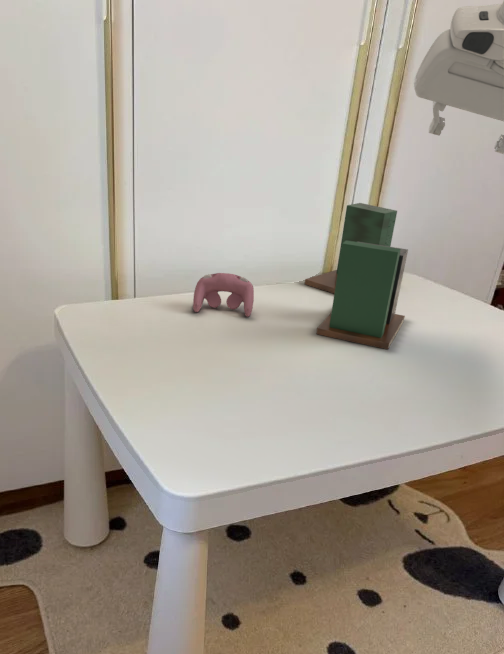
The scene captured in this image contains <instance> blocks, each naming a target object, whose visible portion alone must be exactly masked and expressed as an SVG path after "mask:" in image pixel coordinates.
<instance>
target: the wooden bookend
mask: <svg viewBox="0 0 504 654" xmlns="http://www.w3.org/2000/svg"><path fill="white" fill-rule="evenodd" d="M360 243H364V242H360ZM366 244H370V243H366ZM372 245H376V244H372ZM379 246H383V245H379ZM385 247H389V246H385ZM390 247H391V248H396V247H395V246H390ZM397 248H398V249H401V251H400V256H399V261H398V266H397V271H396V276H395V280H394V285H393V290H392V295H391V300H390V305H389V310H388V315H387V320H386V325H385V330H384V334H383V335H382V337H381V338H379V337H374V336H369V335H364V334H359V333H355V332H350V331H345V330H340V329H336V328H331V327H329V325H330V319H331V312H330V313H329V314H328V315H327V317H326V318H325V319H324V320H323V321H322V322H321V323H320V324H319V325H318V327H317V328H316V335H320V336H323V337H328V338H333V339H337V340H342V341H347V342H352V343H355V344H361V345H364V346H365V345H367V346H371V347H375V348H379V349H383V350H389V348H390V347H391V345H392V343H393V341H394V340H395V338H396V336H397V334H398V332H399V331H400V329H401V327H402V325H403V324H404V322H405V318H406V316H405V315H402V314H398V313H396V310H397V306H398V302H399V301H398V300H399V298H400V297H399V296H400V291H401V286H402V281H403V277H404V271H405V267H406V263H407V262H406V261H407V258H408V254H409V249H407V248H402V247H397Z"/></svg>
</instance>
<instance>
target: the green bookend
mask: <svg viewBox="0 0 504 654" xmlns="http://www.w3.org/2000/svg"><path fill="white" fill-rule="evenodd" d="M344 214H345V216H344V221H343V227H342V228H343V229H342V233H341V241H340V246H339V254H338V259H337V260H338V261H337V266H336V269H335V270H331V271H328V272H325V273H321V274H318V275H314V276H312V277H311V276H310V277H307V278H305V279H304V285H306V286H309V287H312V288H316V289H318V290H321V291H325V292H327V293H331V294H334V293H335V287H336V280H337V274H338V268H339V261H340V255H341V248H342V243H343V242H345V241H346V240H347V241H353V242H364V243H370V244H376V245H383V246H389V247H392V241H393V235H394V230H395V225H396V220H397V214H398V210H395V209H391V208H387V207H382V206H378V205H373V204H367V203H364V202H363V203H362V202H358V203H352V204H346V209H345V213H344Z"/></svg>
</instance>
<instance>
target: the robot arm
mask: <svg viewBox="0 0 504 654" xmlns="http://www.w3.org/2000/svg"><path fill="white" fill-rule="evenodd" d="M413 88H414V92H415V95H416V96H417V97H418V98H420V99H423V100H426V101H427V100H428V101H431V102H432V114H433V118H432V119H431V122H430V124H429V127H428V133H429V134H431V135H434V136H441V134H442V131H443V130H444V128H445V126H446V118H445V117H442V116H440V112H444V111H445V109H446V107H447V106H448V107H451V108H455V109H459V110H462V111H466V112H470V113H473V114H476V115H479V116H483V117H486V118H490V119H494V120H497V121H500V122H504V0H503V1H502V3H497V4H496V3H495V4H486V5H467V6H461V7H458V8H457V9H455V11H454V13H453V16H452V18H451V20H450V27H449V29H446V30H444V31H443V32H442V33H440V34H439V35H438V36H437V37H436V39H434V41H433V43H432V44H431V46H430V47H429V49H428V51H427V52H426V54H425V56H424V57H423V60H422V61H421V63H420V65H419V67H418V69H417V71H416V73H415V76H414V79H413ZM494 152H495V153H498V154H502V155H504V134H500V135H499V137H498V140H496V142H495V143H494Z"/></svg>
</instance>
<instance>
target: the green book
mask: <svg viewBox="0 0 504 654" xmlns="http://www.w3.org/2000/svg"><path fill="white" fill-rule="evenodd" d="M391 247H392V246H390V247H385V246H379V245H372V244H366V243H360V242H353V241H347V240H346V241H345V242H343V243H342V248H341V255H340V261H339V268H338V274H337V280H336V287H335V293H333V301H332V308H331V311H330V313H331V319H330V325H329V327H331V328H336V329H340V330H345V331H350V332H355V333H359V334H364V335H369V336H374V337H379V338H381V337H382V335H383V334H384V330H385V325H386V320H387V315H388V310H389V305H390V300H391V295H392V290H393V285H394V280H395V276H396V271H397V266H398V261H399V256H400V251H401V249H398V248H399V247H395V248H391Z"/></svg>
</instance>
